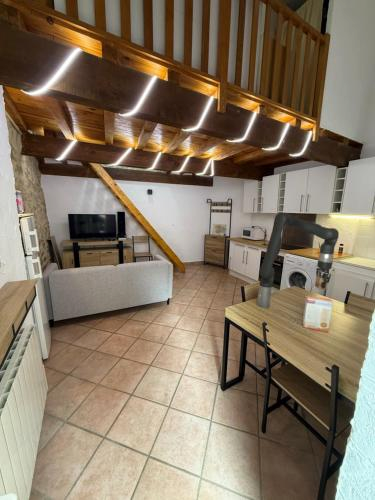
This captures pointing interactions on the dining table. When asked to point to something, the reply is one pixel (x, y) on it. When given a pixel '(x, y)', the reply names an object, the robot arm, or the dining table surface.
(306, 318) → the cracker box
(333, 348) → the dining table surface
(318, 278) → the walnut block
